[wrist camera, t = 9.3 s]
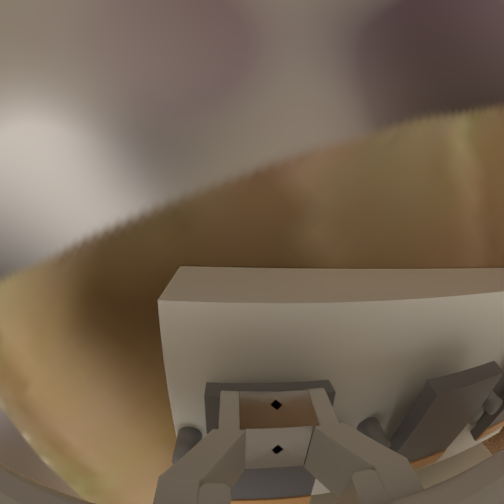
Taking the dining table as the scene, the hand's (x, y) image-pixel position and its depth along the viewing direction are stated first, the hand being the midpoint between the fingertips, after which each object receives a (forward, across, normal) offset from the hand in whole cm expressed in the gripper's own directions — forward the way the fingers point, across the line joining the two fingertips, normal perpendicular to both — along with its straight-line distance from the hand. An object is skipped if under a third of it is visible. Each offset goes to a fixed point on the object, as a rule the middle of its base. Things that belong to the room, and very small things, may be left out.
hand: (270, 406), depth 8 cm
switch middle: (0, -8, +3) cm, 8 cm away
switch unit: (+6, -8, +5) cm, 11 cm away
